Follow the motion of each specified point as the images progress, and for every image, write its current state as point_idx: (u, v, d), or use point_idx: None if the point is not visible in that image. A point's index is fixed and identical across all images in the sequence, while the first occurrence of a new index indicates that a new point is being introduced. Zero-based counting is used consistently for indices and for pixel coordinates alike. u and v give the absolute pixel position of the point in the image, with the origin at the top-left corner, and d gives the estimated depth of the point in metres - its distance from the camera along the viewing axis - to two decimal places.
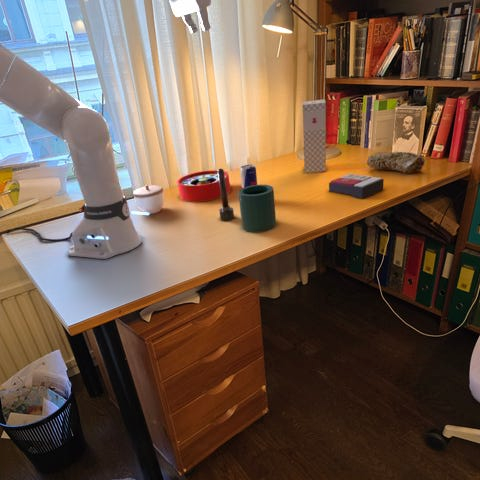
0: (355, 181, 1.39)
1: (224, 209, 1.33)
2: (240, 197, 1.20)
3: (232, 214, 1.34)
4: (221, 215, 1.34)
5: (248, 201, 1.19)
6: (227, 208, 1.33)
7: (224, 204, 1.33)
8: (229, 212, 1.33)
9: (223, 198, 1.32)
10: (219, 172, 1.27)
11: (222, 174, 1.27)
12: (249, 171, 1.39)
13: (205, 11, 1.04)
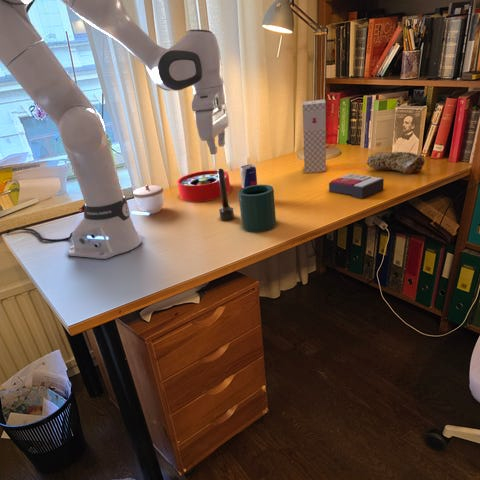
0: (355, 181, 1.39)
1: (224, 209, 1.33)
2: (240, 197, 1.20)
3: (232, 214, 1.34)
4: (221, 215, 1.34)
5: (248, 201, 1.19)
6: (227, 208, 1.33)
7: (224, 204, 1.33)
8: (229, 212, 1.33)
9: (223, 198, 1.32)
10: (219, 172, 1.27)
11: (222, 174, 1.27)
12: (249, 171, 1.39)
13: (212, 141, 1.17)
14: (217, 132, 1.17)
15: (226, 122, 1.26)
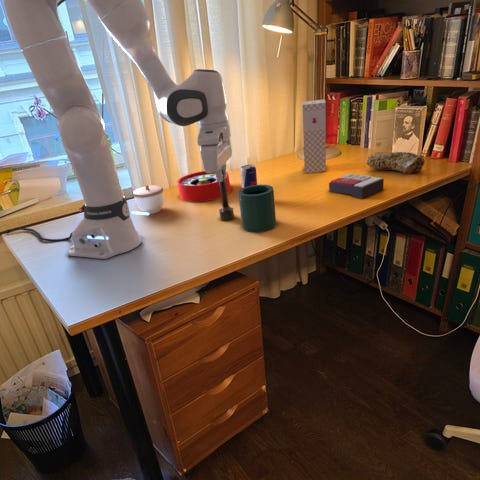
0: (355, 181, 1.39)
1: (224, 209, 1.33)
2: (240, 197, 1.20)
3: (232, 214, 1.34)
4: (221, 215, 1.34)
5: (248, 201, 1.19)
6: (227, 208, 1.33)
7: (224, 204, 1.33)
8: (229, 212, 1.33)
9: (223, 198, 1.32)
10: None
11: (222, 174, 1.27)
12: (249, 171, 1.39)
13: (219, 170, 1.24)
14: (221, 164, 1.22)
15: (230, 153, 1.31)
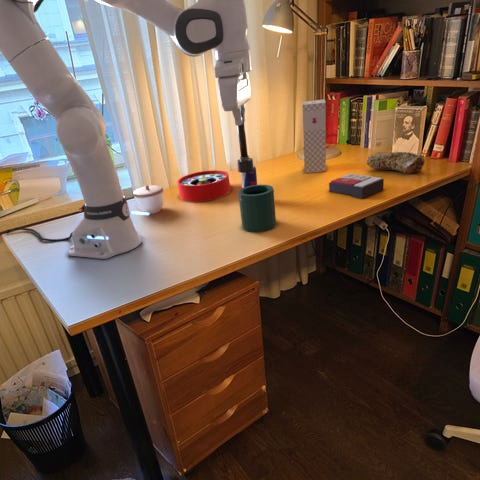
0: (355, 181, 1.39)
1: (243, 159, 1.18)
2: (240, 197, 1.20)
3: (252, 165, 1.19)
4: (239, 166, 1.19)
5: (248, 201, 1.19)
6: (246, 158, 1.18)
7: (243, 153, 1.17)
8: (248, 162, 1.18)
9: (242, 146, 1.16)
10: None
11: None
12: None
13: (238, 110, 1.09)
14: (241, 103, 1.07)
15: (249, 94, 1.15)
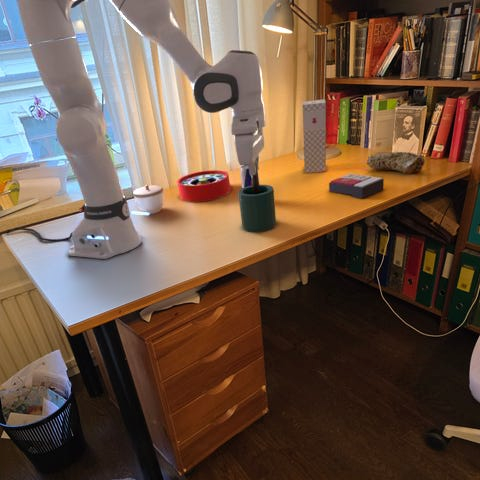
0: (355, 181, 1.39)
1: None
2: (240, 197, 1.20)
3: None
4: None
5: (248, 201, 1.19)
6: None
7: None
8: None
9: (255, 193, 1.21)
10: None
11: None
12: None
13: (252, 162, 1.14)
14: (255, 156, 1.12)
15: (262, 144, 1.20)
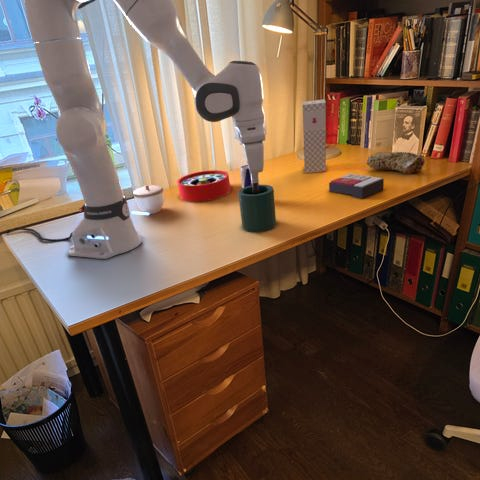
0: (355, 181, 1.39)
1: None
2: (240, 197, 1.20)
3: None
4: None
5: (248, 201, 1.19)
6: None
7: None
8: None
9: None
10: None
11: None
12: (249, 171, 1.39)
13: None
14: None
15: None
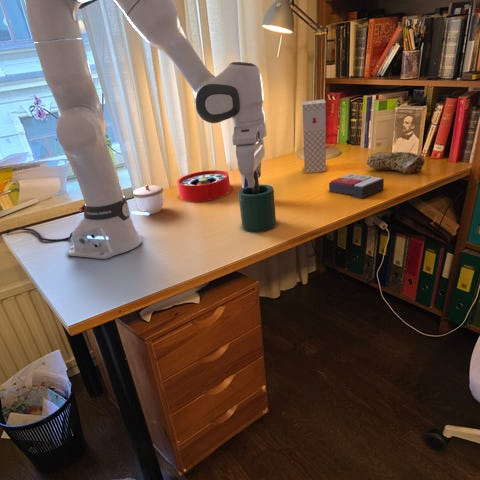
0: (355, 181, 1.39)
1: None
2: (240, 197, 1.20)
3: None
4: None
5: (248, 201, 1.19)
6: None
7: None
8: None
9: None
10: None
11: (256, 176, 1.19)
12: None
13: (251, 174, 1.13)
14: (256, 165, 1.13)
15: (263, 153, 1.22)
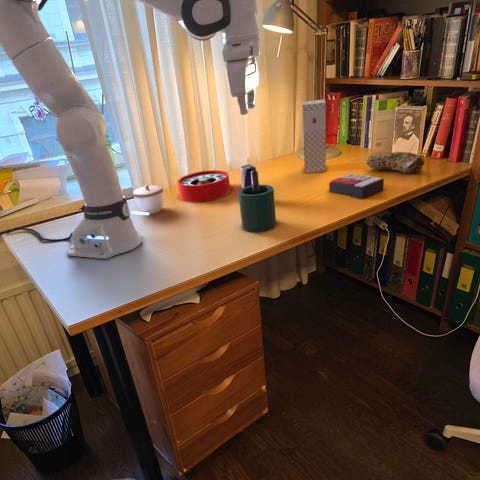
0: (355, 181, 1.39)
1: None
2: (240, 197, 1.20)
3: None
4: None
5: (248, 201, 1.19)
6: None
7: None
8: None
9: None
10: (253, 174, 1.18)
11: (256, 176, 1.19)
12: (249, 171, 1.39)
13: (243, 98, 1.02)
14: (249, 88, 1.03)
15: (257, 80, 1.11)
